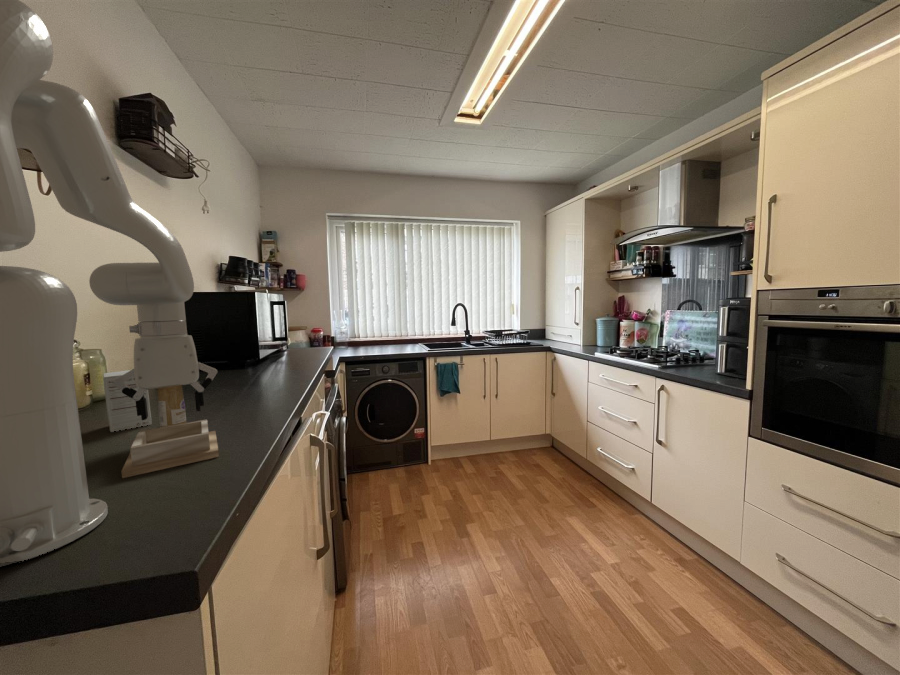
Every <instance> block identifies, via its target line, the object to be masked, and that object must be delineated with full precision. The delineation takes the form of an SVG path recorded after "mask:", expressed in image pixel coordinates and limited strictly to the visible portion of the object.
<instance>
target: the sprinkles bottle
mask: <svg viewBox="0 0 900 675" xmlns="http://www.w3.org/2000/svg"><path fill="white" fill-rule="evenodd" d="M183 388H184V387H183V385H178V386H170V387H162V388H156V397H157V401H156V402H157V408H158V420H159V425H160V427H165V426H171V425H177V424H183V423H187V415H186V404H185V400H184V399H185V398H184V390H183Z"/></svg>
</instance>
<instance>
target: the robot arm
mask: <svg viewBox="0 0 900 675" xmlns="http://www.w3.org/2000/svg"><path fill="white" fill-rule="evenodd" d="M53 60H54V47H53V42H52V38H51V35H50V32H49V30H48V28H47V26H46V24H45V23H44V22H43V20H42V18H41V17H40V16H39V15H38V14H37V13H36V12H35V11H34V10H33V9H32V8H31V7H30V6H28V4H26V3H24V2H23V1H21V0H0V253H2V252H3V253H5V252H11V251H15V250H20V249H22V248H24V247H26V246H28V245H29V244H30V243H31V242H32V241H33V240H34V238H35V234H36V220H35V213H34V210H33V206H32V205H33V204H32V202H31V198H30V192H29V190H28V187H27V182H26V178H25V174H24V171H23V167H22V163H21V160H20V156H19V152H18V149H24V150H26V149H27V150H29V151H30V152H31V153H32V155H33V157H34V159H35V161H36V163H37V164H38V167H39V168H40V171H41V173H42V174H43V176H44V177H45V179H46V182H47V183H48V185H49V187H50V189H51V191H52V192H53V194H54V196H55V198H56V200H57V202H58V204H59V205H60V207H61V208H62V210H64V211H65V212H67V214H68V213H69V214H70V215H72V216H74V217H76V218H79V219H82V220H84V221H87V222H89V223H92V224H95V225H98V226H100V227H103V228H106V229H108V230H111V231H114V232H117V233H120V234H122V235H124V236H127V237H128V238H130V239H132V240H134V241H135V242H137V243H139V244H141V245H142V246H143V247H145V248H146V249H148V250H149V252H150V253H151V254H153V256H154V257H155V259H156V260H157V261H158V262H111V263H106V264H102V265H99V266H98V267H96V268H95V269H94V270H93V271H92V272H91V274H90V276H89V280H88V281H89V287H90V290H91V292H92V293H93V294H94V295H95V297H96V298H97V299H99V300H100V301H102V302H104V303H107V304H109V305H115V306H136V309H137V310H136V311H137V318H138V322H137V323H136V324H134V325H129V327H128V328H129V330H128V331H129V333H131V334H132V333H133V334H137V335H139V336H140V337H139V338H135V340H134V346H133V368H132V369H131V371H129V372H127V373H126V374H124V375H122V376H121V377H119V378H117V379H116V380H114V381H113V384H114V385H115V386H116V387H117V388H118V389H119V390H120V391H122V393H123V394H125V395H127V396H129V397H130V398H132V399H133V400H134V401H136V410H137V416H140V415H141V418H142V420H146V419H147V417H148V410H147V401H146V398H145V397H144V393H145V392H146V391H147V389H148V390H151V389H152V390H154V389H157V388H162V387H170V386H178V385H182V386H185V385H190V386H192V387H193V388H194V389H195V391H194V401H195V410H196V412H201V407H204V406H205V402H204V391H205V390H206V389H207V388H208V387H209V386H210V385H211V384H212V382H213V380H214V378H215V377H216V375H217V374H218V373H219V372H218V369H216V368H215V367H212V366H209V365H207V364H204V363H203V362H202V363H201V362H200V361H198V355H197V350H196V345H195V342H194V339H193V336H192V335H191V334H190V335H189V334H188V330H187V327H188V326H187V317H186V308H185V307H186V306H185V302H187V301H189V300H190V299H192V296H193V295H194V290H195V282H194V278H193V274H192V273H193V272H192V270H191V268H190V264H189V262H188V259H187V256H186V254H185V251H184V249H183V247H182V245H181V243H180V241H179V240H178V239H177V237H176V236H175V235H174V234H173V233H172V232H171V231H170V230H169V229H168V228H167V227H166V226H165V225H164V224H163V223H162V222H161V221H160V220H158V219H157V218H156V217H155V216H154V215H153V214H151V213H149V212H148V211H147V210H145V209H144V208H142V207H141V206H140V205H138V204H137V203H136V202H135V201H134V199H133V197H132V196H131V195H130V193H129V190H128V188H127V185H126V181H125V179H124V177H123V175H122V173H121V170H120V168H119V166H118V163H117V160H116V159H115V156H114V153H113V150H112V149H111V146H110V144H109V141H108V139H107V136H106V133H105V132H104V130H103V127H102V125H101V122H100V120H99V117H98V115H97V113H96V111H95V109H94V107H93V105H92V104H91V103H90V102H89V100H88V99H87V98H86V97H85V96H84V95H83V94H81V93H80V92H78V91H76V90H75V89H73V88H71V87H69V86H66V85H63V84H60V83H57V82H53V81H48V80H43V79H42V78H44V77H45V76H46V75H47V74H48V73H49V71H50V70H51V67H52V65H53ZM77 322H78V303H77V300H76V297H75V295H74V293H73V291H72V290H71V288H70V287H69V286H68V284H66V283H65V282H64V281H62V280H61V278H58V277H56V276H54V275H53V274H50V273H48V272H45V271H41V270H39V269H34V268H28V267H22V266H15V265H14V266H10V265H9V266H8V265H0V563H5V562H14V561H22V562H25V561H24V560H26V561H28V559H29V560H31V559H34V558H37V557H40V556H42V554H43V555H45V554H48V553H50V552H52V551H54V549H55V550H57V549H60V548H62V547H64V546H65V545H68V544H70V543H71V542H74V541H75V540H78V539H80V538H81V537H83V536H85V535H86V534H88V533H89V532H92V530H94V529H95V528H96V527H98V526H99V525H100V524H101V523H102V522H103V521H104V520H105V519H106V517H107V515H108V514H109V511H108V504H107V502H106V501H104V500H102V499H98V498H90V496H89V487H88V480H87V479H88V478H87V471H86V463H85V457H84V456H85V455H84V447H83V439H82V432H81V431H82V430H81V424H80V422H81V421H80V416H79V407H78V406H79V405H78V401H77V400H78V399H77V393H76V387H75V377H74V359H73V358H74V342H75V334H76V333H75V332H76V327H77ZM200 370H201V371H203V372H206V373H207V376H206V378H205V379H204V380H202V381H201V382H200V381H199V378H200ZM134 376H135V383H136V386H137V387H138V388H139V389H138V391H136V390H134V389H132V388H131V387H129V386H128V385H127V384H126V381H127V380H129V379H131V378H132V377H134ZM47 552H48V553H47ZM39 555H40V556H39Z"/></svg>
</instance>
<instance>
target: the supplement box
mask: <svg viewBox="0 0 900 675" xmlns="http://www.w3.org/2000/svg"><path fill="white" fill-rule="evenodd" d="M131 370H132V369H131ZM131 370H129V369H128V370H120V371H112V372H111V371H110V372H104V373H103V375H102V377H103V387H104V394H105V395H104V397H105V398H104V399H105V406H106V412H107V419H108V424H109V425H108V426H109V431H110V432H109V433H115V432H114V431H116V432H120V431H119V430H121V431H125V429H127V430H132V429H137V428H136V427H138V428H142V427H141V426H143V427H146V426H147V425H148V426H151V425H152V413H151V405H150V396H149V389H147V391H146V392H145V393H144V397H145V398H146V401H147V410H148V417H147V419H146V420H142V418H141V415H140V416H137V410H136V401H134V400H133V399H132V398H130V397H129V396H127V395H125V394H123V393H122V391H120V390H119V389H118V388H117V387H116V386H115V385H114V384H113V381H114V380H116V379H117V378H119V377H121V376H122V375H124V374H126V373H127V372H129V371H131ZM126 384H127V385H128V386H129V387H131V388H132V389H134V390H136V391H138V389H139V388H138V387H137V386H136V383H135V376H134V377H132V378H131V379H129V380H127V381H126ZM131 428H132V429H131Z"/></svg>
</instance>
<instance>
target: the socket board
mask: <svg viewBox="0 0 900 675" xmlns="http://www.w3.org/2000/svg"><path fill="white" fill-rule="evenodd" d="M208 422H209V421H208V419H202V420H196V421H189V422H186V423H183V424H177V425H171V426H165V427H161V426H160V427H154V428H153V427H152V428H147V429H143V430H139V431H138V433H137V434H136V437H135V438H134V440H133V441H132V442H133V443H132V444H131V447H130V452H129V455H128V457H127V458H126V461H125V463H124V464H123V466H122V469H121V478H122V479H126V478H130V477H134V476H140V475H143V474H148V473H151V472H156V471H160V470H161V471H162V470H165V469H170V468H174V467H178V466H183V465H187V464H188V465H189V464H192V463H196V462H201V461H206V460H210V459H214V458H218V457H220V454H219V444H218V439H217V434H216V430H212V431H209V424H208Z"/></svg>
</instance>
